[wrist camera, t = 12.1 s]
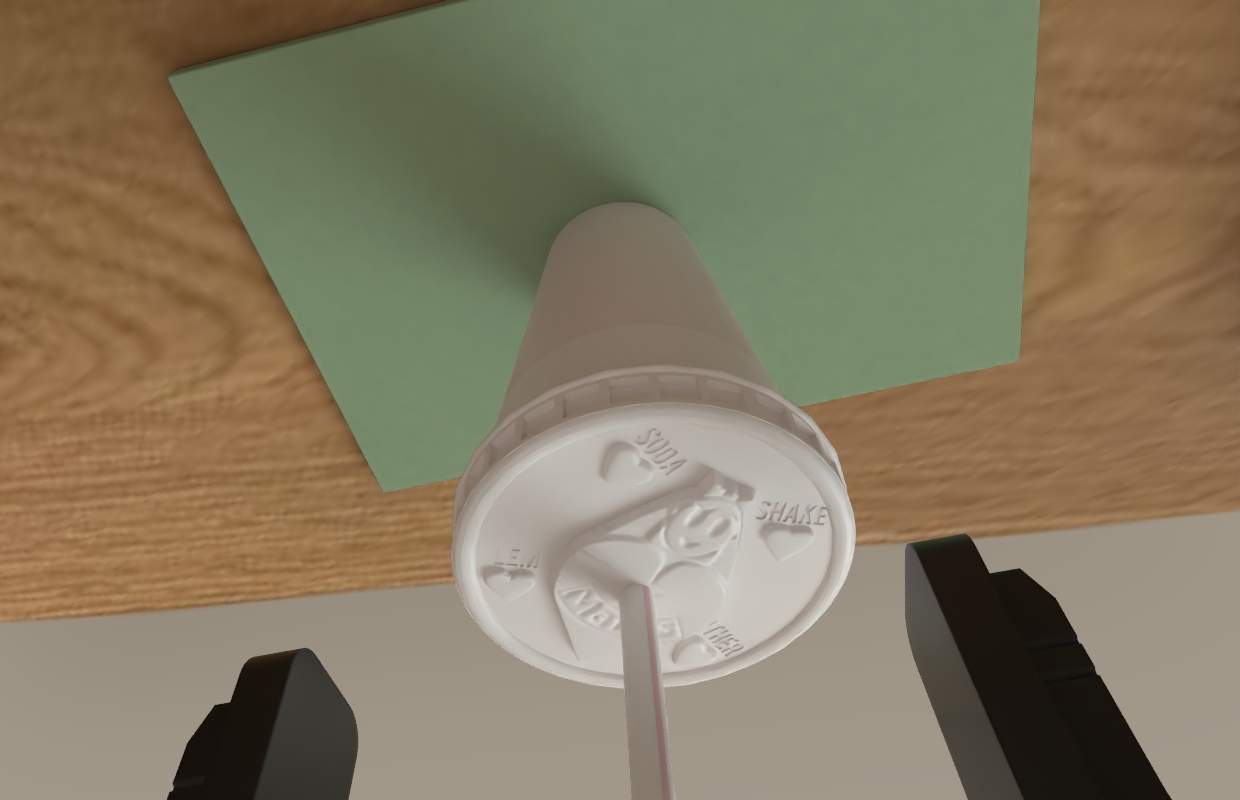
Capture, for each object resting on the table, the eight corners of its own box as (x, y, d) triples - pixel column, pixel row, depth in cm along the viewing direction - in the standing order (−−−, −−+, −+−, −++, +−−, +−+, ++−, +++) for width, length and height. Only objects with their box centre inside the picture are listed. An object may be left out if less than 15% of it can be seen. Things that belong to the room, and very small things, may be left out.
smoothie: (444, 312, 22) (315, 908, 11) (576, 88, 19) (595, 589, 8) (658, 416, 24) (741, 998, 13) (807, 231, 21) (1087, 781, 10)
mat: (173, 70, 19) (164, 77, 18) (1038, -153, 17) (1050, -150, 17) (385, 482, 26) (382, 493, 25) (1012, 351, 24) (1020, 361, 24)
